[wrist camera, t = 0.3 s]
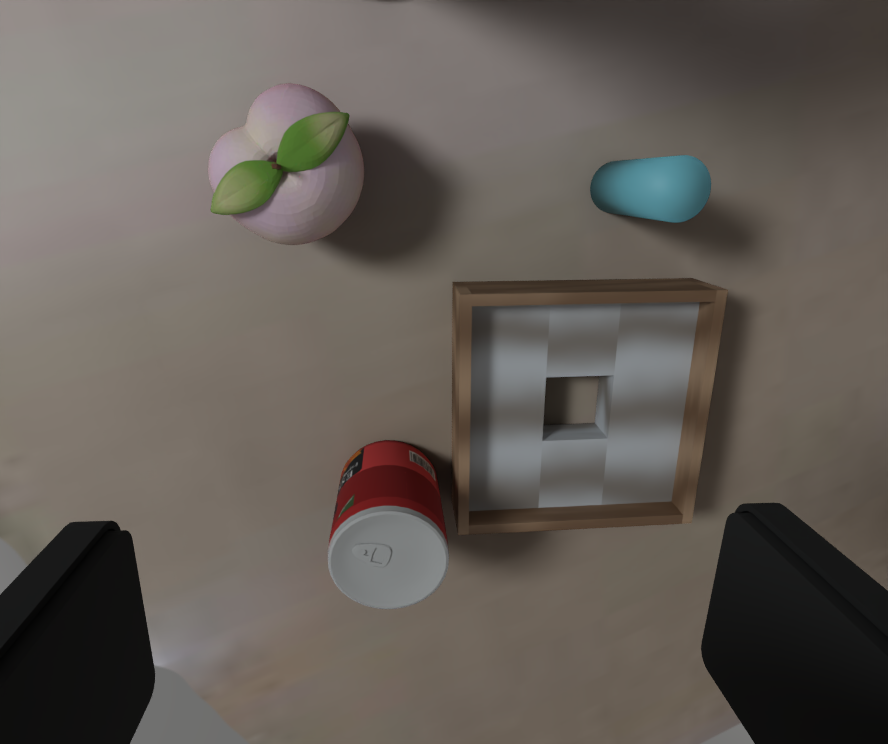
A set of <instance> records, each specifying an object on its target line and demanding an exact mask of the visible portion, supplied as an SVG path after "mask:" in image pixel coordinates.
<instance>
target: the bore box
mask: <svg viewBox="0 0 888 744" xmlns="http://www.w3.org/2000/svg"><path fill="white" fill-rule="evenodd" d="M727 294H728V290H727V289H723V288H720V287H717V286H714V285H711V284H708V283H705V282H702V281H699V280H696V279H693V278H678V279H614V280H551V281H487V282H453V316H452V504H453V510H454V515H455V520H456V526H457V531H458V535H471V534H491V533H510V532H529V531H549V530H568V529H587V528H607V527H626V526H645V525H665V524H684V523H692V517H693V511H694V504H695V498H696V491H697V485H698V479H699V472H700V466H701V459H702V453H703V447H704V440H705V434H706V428H707V421H708V415H709V408H710V402H711V396H712V389H713V383H714V377H715V370H716V364H717V357H718V351H719V345H720V338H721V332H722V325H723V319H724V313H725V306H726V300H727ZM576 376H599V384H598V395H597V406H596V418H595V423H585V424H557V425H543V421H544V404H545V387H546V377H576Z"/></svg>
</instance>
